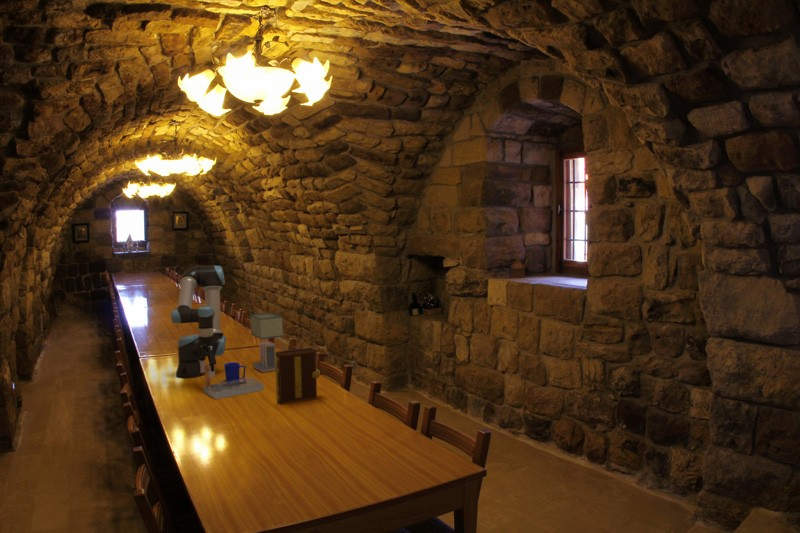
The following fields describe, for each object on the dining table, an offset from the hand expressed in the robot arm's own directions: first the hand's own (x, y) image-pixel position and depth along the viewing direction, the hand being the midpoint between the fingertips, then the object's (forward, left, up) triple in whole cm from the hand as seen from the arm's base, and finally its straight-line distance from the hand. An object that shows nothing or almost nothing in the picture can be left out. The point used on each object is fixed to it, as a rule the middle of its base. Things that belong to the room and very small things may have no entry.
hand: (207, 374), depth 319 cm
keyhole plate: (+13, +9, -8) cm, 17 cm away
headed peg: (0, 0, -8) cm, 8 cm away
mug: (-4, +17, -8) cm, 19 cm away
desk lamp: (-20, +44, -8) cm, 49 cm away
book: (+50, +28, -8) cm, 58 cm away
